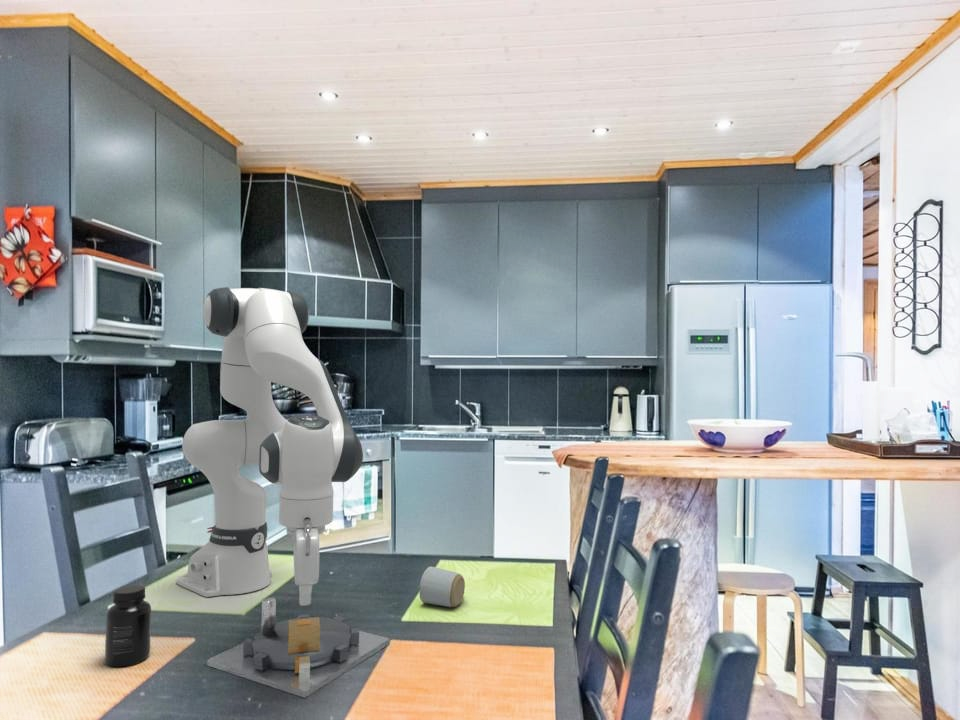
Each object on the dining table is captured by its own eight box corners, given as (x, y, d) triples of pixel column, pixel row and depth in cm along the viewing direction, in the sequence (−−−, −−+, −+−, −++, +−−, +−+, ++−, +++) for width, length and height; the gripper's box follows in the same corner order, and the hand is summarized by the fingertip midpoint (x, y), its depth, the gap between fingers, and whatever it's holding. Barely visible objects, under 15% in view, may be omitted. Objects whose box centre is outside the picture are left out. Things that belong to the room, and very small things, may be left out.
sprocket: (236, 679, 97) (238, 631, 97) (249, 630, 116) (250, 590, 116) (362, 665, 102) (363, 620, 102) (355, 620, 121) (355, 582, 121)
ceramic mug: (452, 613, 129) (453, 576, 129) (418, 607, 132) (418, 571, 132) (471, 597, 139) (472, 563, 139) (439, 592, 142) (439, 559, 142)
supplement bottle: (159, 653, 108) (161, 585, 109) (125, 671, 102) (127, 598, 102) (129, 648, 111) (131, 580, 111) (94, 664, 104) (97, 593, 104)
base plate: (207, 665, 104) (207, 641, 104) (300, 621, 124) (301, 601, 124) (304, 697, 94) (305, 671, 94) (389, 643, 113) (390, 622, 114)
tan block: (288, 655, 101) (288, 627, 101) (288, 647, 104) (288, 619, 104) (319, 651, 103) (319, 623, 103) (318, 643, 106) (318, 616, 106)
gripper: (329, 526, 95) (327, 615, 95) (322, 498, 115) (320, 572, 115) (287, 528, 93) (284, 619, 93) (287, 499, 113) (284, 575, 113)
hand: (304, 593), depth 104 cm, fingers open, 8 cm apart
